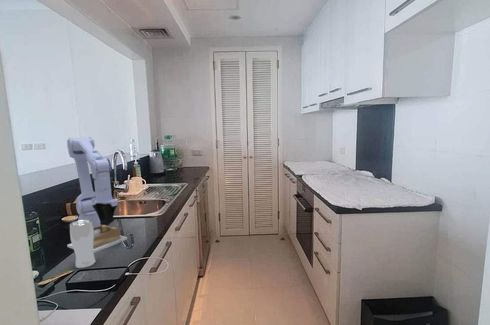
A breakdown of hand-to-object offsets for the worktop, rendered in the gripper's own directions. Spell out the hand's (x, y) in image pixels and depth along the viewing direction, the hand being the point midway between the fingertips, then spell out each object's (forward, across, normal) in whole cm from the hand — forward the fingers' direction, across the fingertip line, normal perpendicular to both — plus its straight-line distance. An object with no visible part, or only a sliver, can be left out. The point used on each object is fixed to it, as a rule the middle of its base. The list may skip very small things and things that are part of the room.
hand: (106, 221), depth 111 cm
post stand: (+9, -4, -2) cm, 10 cm away
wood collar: (+8, -4, -2) cm, 9 cm away
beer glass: (+9, +10, -15) cm, 20 cm away
